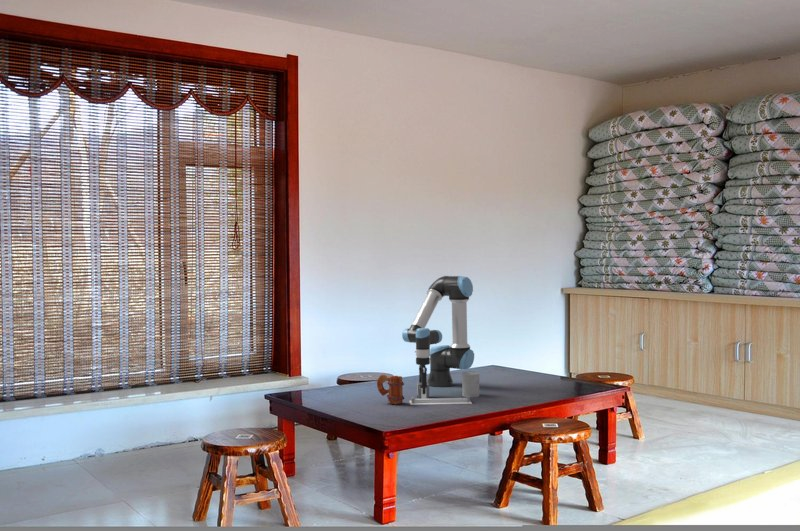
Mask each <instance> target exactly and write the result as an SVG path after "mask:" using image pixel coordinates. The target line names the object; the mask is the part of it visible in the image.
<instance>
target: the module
mask: <svg viewBox="0 0 800 531" xmlns="http://www.w3.org/2000/svg"><path fill="white" fill-rule="evenodd" d="M420 386H422V383H419V382H416V399H421V388H420ZM429 398H430V386H429V384H428V382H427V387H426V399H429Z"/></svg>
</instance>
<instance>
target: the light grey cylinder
mask: <svg viewBox="0 0 800 531" xmlns="http://www.w3.org/2000/svg"><path fill="white" fill-rule="evenodd" d="M461 377H462V378H461V383H462V384H461V386H462V388H461V391H462V392H461V394H462V395H461V396H462V397H463V398H466V396H469V397H470V398H478V397H480V372H476V371H464V372H462V373H461Z"/></svg>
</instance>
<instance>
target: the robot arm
mask: <svg viewBox="0 0 800 531" xmlns="http://www.w3.org/2000/svg"><path fill="white" fill-rule="evenodd" d="M473 292H474V286H473V282H472V280H471V279H470V278H469V277H468V276H462V275H460V276H459V275H457V276H456V275H453V276H452V275H443V276H441V277H439V278H437V279H436V280H435V281H433V282H432V284H430V286H428V290H427V291H426V297H425V298H424V300H423V302H422V305H421V306H420V308H419V310H418V312H417V314H416V315H415V318H414V319H413V320H412V323H411V325H410V327H409V328H405V329H403V330H402V334H401V338H402V340H403V341H404V342H406V343H413V344H415V351H414V353H415V356H416V357H415V364H416V365H418V371H419V372H418V375H419V376H418V383H422V386H420V388H421V399H426V387H427V382H428V384H429V387H438V388H439V387H440V388H443V387H451V386H453V385H454V381H453V378H452V374H451V369H454V370H455V369H456V370H469V369H470V368H471V367H472V366H473V364H474V361H475V353H474V350H472V349H471V345H470V344H469V343H468V313H467V312H468V309H467V308H468V307H467V302H469V300H470V297H472V295H473ZM444 297H448V300H449V301H450V302H451V324H452V325H451V326H452V327H451V329H452V330H451V331H452V337H451V338H452V343H451V345H437V344H439V343H441V341H442V340H443V334H442V332H441V331H440V330H438V329H430V328H428V327H426V326H427V325H428V323H429V321H430V319H431V317H432V315H433V313H434V311H435V309H436V307H437V305H438V303H439V302H440V301H441V300H442V299H443V298H444ZM431 345H437V346H431ZM426 365H427V366H428V365H429V367H430V369H429V370H430V372H429V375H428V374H427V372H428V371H427V370H428V368H427V367H426ZM427 375H428V378H427Z"/></svg>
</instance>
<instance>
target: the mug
mask: <svg viewBox="0 0 800 531" xmlns="http://www.w3.org/2000/svg"><path fill="white" fill-rule="evenodd" d="M385 382H387V384H388V389H386V388H384V383H385ZM376 385H377V386H376V387H377V390H378V392H379V394H381V396H386V397H387V402H388V403H389V404H391V405H400V404H402V403H403V400H405V396H404V395H403V386H404V385H405V382H404V381H403V376H401V375H391V376H387V375H386V374H381V375H380V376H379V377H378V378H377V380H376Z"/></svg>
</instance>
